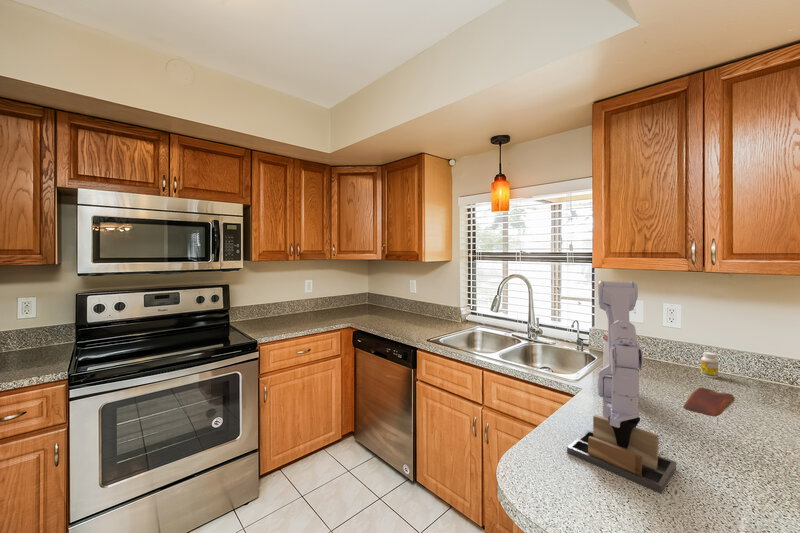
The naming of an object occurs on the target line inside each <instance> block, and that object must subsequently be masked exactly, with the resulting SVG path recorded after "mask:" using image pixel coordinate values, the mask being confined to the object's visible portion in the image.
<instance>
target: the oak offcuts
mask: <svg viewBox="0 0 800 533" xmlns="http://www.w3.org/2000/svg"><path fill="white" fill-rule="evenodd" d="M588 454H590V455H592V456H595V457H597V458H599V459H602V460H604V461H607V462H609V463H611V464H614V465H616V466H619V467H621V468H623V469H626V470H628V471H631V472H633V473H635V474H638V475H640V476H642V456H640V455H638V454H636V453H634V452H631V451H628V450H626V449H623V448H621V447H618V446H615V445H613V444H610V443H607V442H605V441H602V440H599V439H597V438H594V437H591V436H589V437H588Z"/></svg>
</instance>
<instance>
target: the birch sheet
mask: <svg viewBox="0 0 800 533" xmlns="http://www.w3.org/2000/svg"><path fill="white" fill-rule="evenodd" d="M592 422H593V423H592V426H593V427H592V431H593V437H594V438H597V439H599V440H602V441H605V442H607V443H610V444H613V445H615V446H618V445H617V442H616V438H615V434H614V430H613V428H612V426H611V425H610V422H609V420H608V418H605V417H603V415H600V414H599V415H598V414H594V415H593V418H592ZM659 439H660V438H659V434H656V433H654V432H650V431H647V430H645V429H642V428H639V427H638V428H635V427H634V428H633V430H632V432H631V435H630V440H629V445H628V447H627V449H626V448H623V447H621V448H623V449H626V450H628V451H631V452H634V453H636V454H638V455H640V456H642V465H645V466H648V467H650V468H653V469H655V470H656V469H657V468H658V456H659ZM618 447H620V446H618Z"/></svg>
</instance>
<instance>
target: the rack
mask: <svg viewBox="0 0 800 533" xmlns="http://www.w3.org/2000/svg"><path fill="white" fill-rule="evenodd" d="M589 436H591V437H593V430H590V429H586V430H585V431H584V432H583V433H582V434H580V435H579V436H578V437H577V438H576V439H574V440H573V441H572V442H571V443H569V444H568V445H567V447H566V454H568V455H571V456H573V457H576V458H578V459H580V460H582V461H585V462H587V463H589V464H592V465H594V466H596V467H599V468H600V469H603V470H605V471H607V472H610V473H613V474H615V475H617V476H620V477H622V478H624V479H627V480H629V481H631V482H632V483H636V484H637V485H640V486H642V487H644V488H647V489H648V490H649V489H650V490H651V491H654V492H656V493H658V494H663V492H664V490H665V489H666V487H667V485H668V483H669V482H670V480H671V478H672V477H673V475H674V473H675V471H676V470H677V461H674V460H671V459H669V458H666V457H663V456H661V455H658V468H657V469H656V470H655V469H653V468H650V467H648V466H645V465H642V476H640V475H638V474H635V473H633V472H631V471H628V470H626V469H623V468H621V467H619V466H616V465H614V464H611V463H609V462H607V461H604V460H602V459H599V458H597V457H595V456H592V455H590V454H588V437H589Z"/></svg>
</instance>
